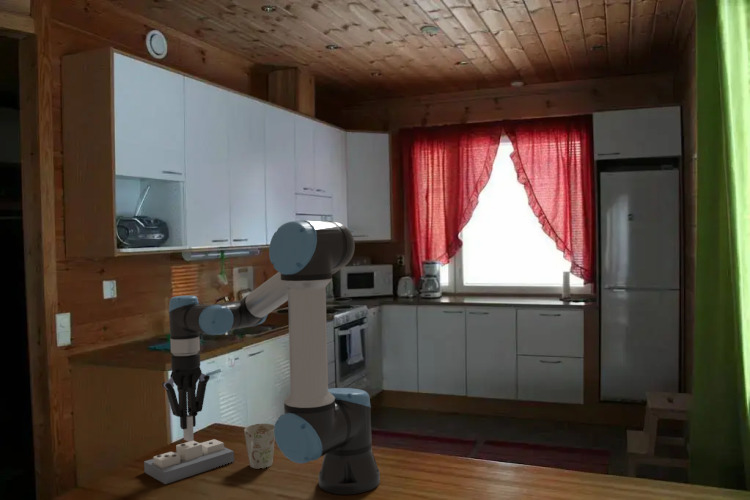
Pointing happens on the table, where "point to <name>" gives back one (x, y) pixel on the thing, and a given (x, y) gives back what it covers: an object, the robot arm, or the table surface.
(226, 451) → the board
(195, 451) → the white die
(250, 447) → the mug
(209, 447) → the white block
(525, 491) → the table surface
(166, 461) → the white block with dots
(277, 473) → the table surface
